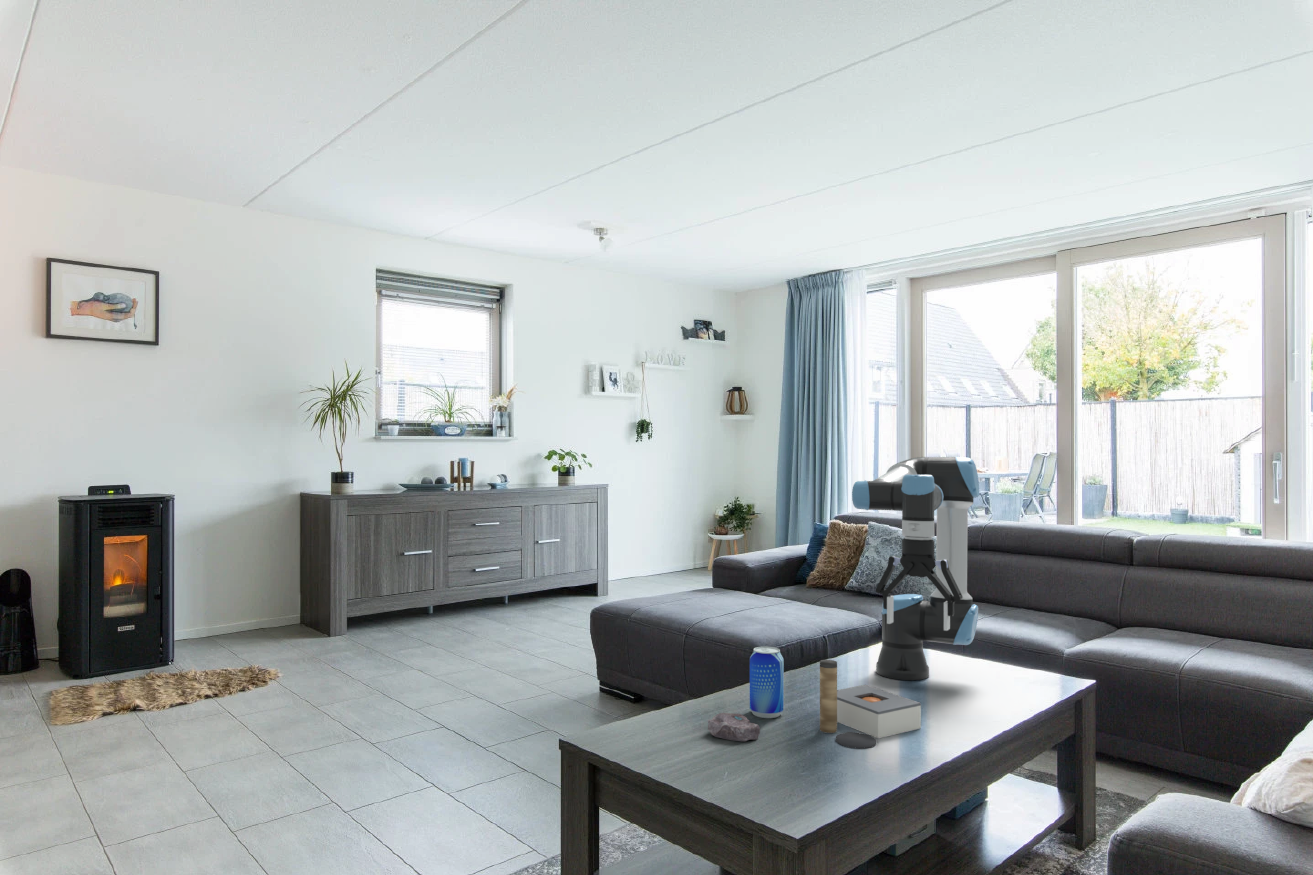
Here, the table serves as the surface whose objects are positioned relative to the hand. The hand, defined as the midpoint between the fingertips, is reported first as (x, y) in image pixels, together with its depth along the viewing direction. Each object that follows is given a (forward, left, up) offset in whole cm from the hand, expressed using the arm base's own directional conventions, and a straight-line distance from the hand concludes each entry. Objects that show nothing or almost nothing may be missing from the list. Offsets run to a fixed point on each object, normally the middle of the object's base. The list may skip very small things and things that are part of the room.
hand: (918, 626), depth 199 cm
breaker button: (-7, -9, -20) cm, 23 cm away
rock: (-16, -44, -24) cm, 52 cm away
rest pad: (+1, -22, -24) cm, 32 cm away
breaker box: (-7, -9, -24) cm, 26 cm away
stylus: (-8, -22, -24) cm, 33 cm away
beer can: (-25, -27, -24) cm, 43 cm away
